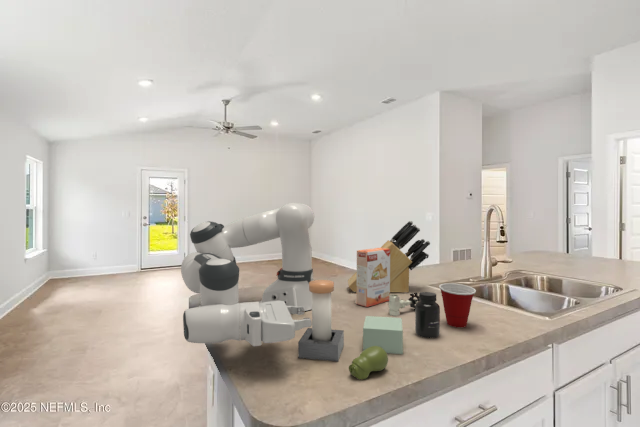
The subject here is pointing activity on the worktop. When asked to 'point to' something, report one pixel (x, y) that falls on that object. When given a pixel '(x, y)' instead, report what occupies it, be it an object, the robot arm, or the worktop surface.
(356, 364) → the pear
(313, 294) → the end plug
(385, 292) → the cracker box
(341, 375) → the worktop surface
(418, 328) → the supplement bottle
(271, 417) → the worktop surface
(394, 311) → the valve
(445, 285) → the plastic cup
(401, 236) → the knife block
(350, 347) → the worktop surface
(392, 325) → the parts stand
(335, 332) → the block
